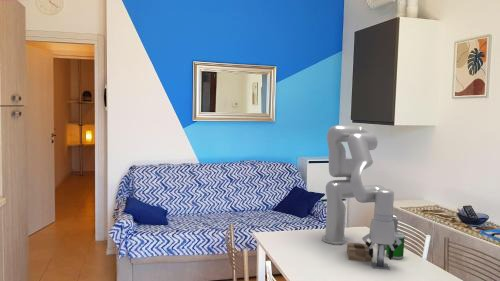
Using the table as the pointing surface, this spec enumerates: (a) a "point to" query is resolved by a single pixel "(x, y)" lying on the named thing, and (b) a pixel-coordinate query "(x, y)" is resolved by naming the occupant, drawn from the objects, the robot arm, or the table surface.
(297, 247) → the table surface
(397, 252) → the soda can
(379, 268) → the mat
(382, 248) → the peg
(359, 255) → the hole block
